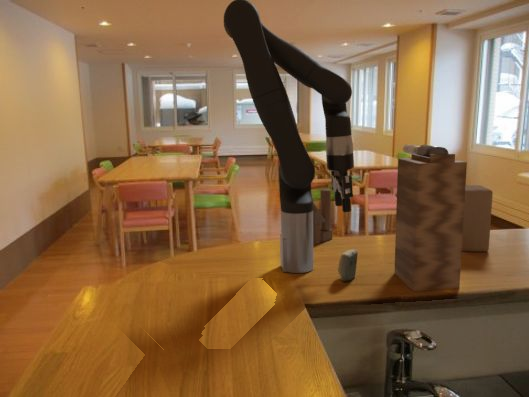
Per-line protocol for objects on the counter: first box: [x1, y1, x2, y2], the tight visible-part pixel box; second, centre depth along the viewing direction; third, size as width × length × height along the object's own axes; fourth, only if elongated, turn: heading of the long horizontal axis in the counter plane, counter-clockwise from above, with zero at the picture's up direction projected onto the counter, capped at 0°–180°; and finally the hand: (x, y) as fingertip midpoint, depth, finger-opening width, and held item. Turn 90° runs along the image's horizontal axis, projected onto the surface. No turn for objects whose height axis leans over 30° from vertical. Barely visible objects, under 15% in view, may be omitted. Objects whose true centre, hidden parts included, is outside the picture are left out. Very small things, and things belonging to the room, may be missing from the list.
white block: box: [337, 248, 359, 283], centre depth 122 cm, size 6×5×8 cm
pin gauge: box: [402, 144, 450, 157], centre depth 119 cm, size 4×21×4 cm, turn 5°
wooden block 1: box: [313, 188, 333, 246], centre depth 158 cm, size 4×11×18 cm, turn 137°
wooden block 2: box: [462, 185, 493, 253], centre depth 146 cm, size 10×10×20 cm
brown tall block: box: [394, 153, 468, 292], centre depth 117 cm, size 12×13×34 cm
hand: (342, 208), depth 130 cm, fingers open, 8 cm apart
